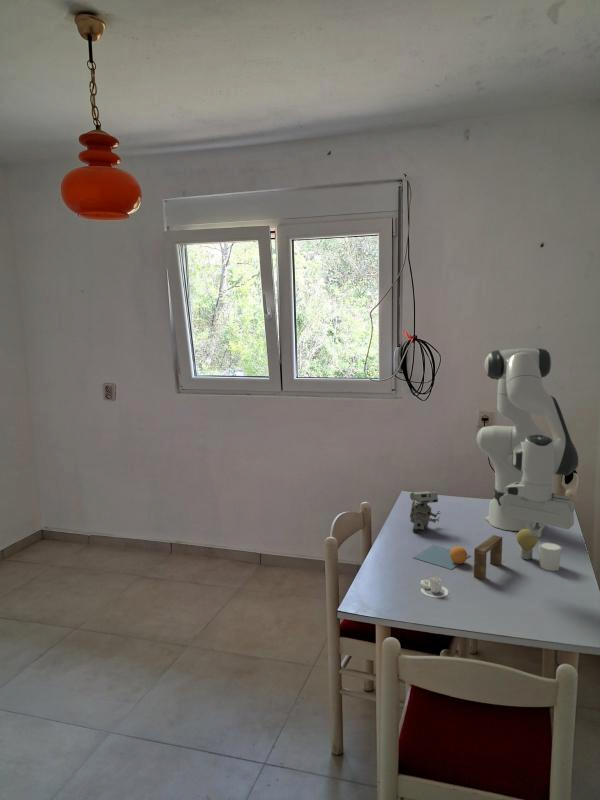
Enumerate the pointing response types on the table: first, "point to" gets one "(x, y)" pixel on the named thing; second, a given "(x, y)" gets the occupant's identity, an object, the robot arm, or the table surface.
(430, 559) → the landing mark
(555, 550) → the white cylinder
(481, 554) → the bridge
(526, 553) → the light bulb
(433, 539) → the table surface
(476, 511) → the table surface
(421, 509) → the figurine
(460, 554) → the ball
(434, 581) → the mug and donut ornament
